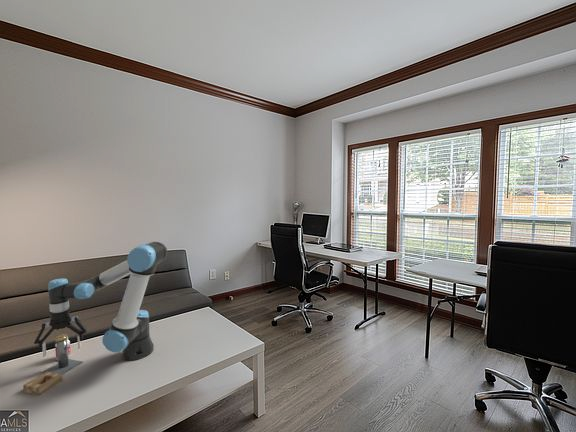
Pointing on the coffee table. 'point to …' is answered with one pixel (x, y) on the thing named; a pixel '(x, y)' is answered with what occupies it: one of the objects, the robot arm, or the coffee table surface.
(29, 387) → the block
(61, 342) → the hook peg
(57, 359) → the pill bottle
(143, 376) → the coffee table surface
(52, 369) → the rubber mat
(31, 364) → the coffee table surface
